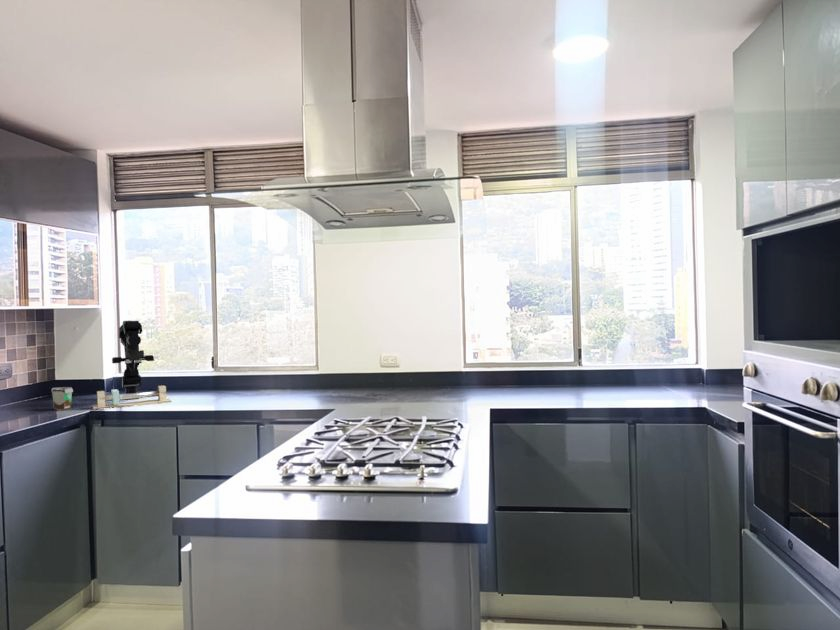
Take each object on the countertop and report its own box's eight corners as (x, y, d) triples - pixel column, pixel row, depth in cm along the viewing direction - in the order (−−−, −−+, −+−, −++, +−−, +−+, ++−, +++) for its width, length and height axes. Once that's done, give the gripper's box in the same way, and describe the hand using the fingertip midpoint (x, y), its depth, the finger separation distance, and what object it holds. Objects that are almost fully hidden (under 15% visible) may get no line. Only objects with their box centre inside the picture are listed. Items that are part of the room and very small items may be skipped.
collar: (111, 402, 288) (111, 389, 288) (117, 401, 290) (117, 389, 290) (113, 404, 279) (113, 392, 279) (119, 404, 280) (119, 391, 280)
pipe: (97, 401, 279) (97, 395, 279) (165, 395, 295) (164, 389, 295) (97, 402, 277) (97, 396, 277) (165, 395, 293) (165, 390, 293)
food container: (79, 408, 280) (78, 387, 280) (66, 410, 275) (65, 389, 275) (65, 406, 286) (64, 386, 286) (52, 408, 281) (51, 388, 281)
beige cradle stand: (92, 407, 281) (91, 391, 281) (168, 399, 299) (167, 384, 299) (93, 410, 273) (92, 393, 273) (171, 402, 291) (170, 386, 291)
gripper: (113, 347, 284) (114, 379, 284) (154, 344, 294) (155, 375, 294) (111, 346, 294) (112, 377, 294) (151, 344, 304) (152, 374, 304)
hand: (133, 376), depth 296 cm, fingers closed
